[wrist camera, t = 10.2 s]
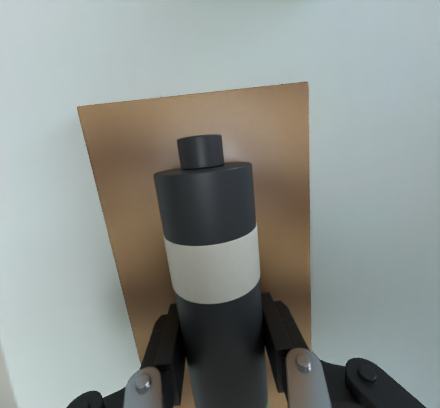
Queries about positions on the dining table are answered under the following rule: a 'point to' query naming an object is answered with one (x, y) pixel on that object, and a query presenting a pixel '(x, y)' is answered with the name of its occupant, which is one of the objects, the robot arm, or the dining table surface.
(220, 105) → the wooden board
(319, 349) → the dining table surface
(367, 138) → the dining table surface
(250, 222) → the marker
